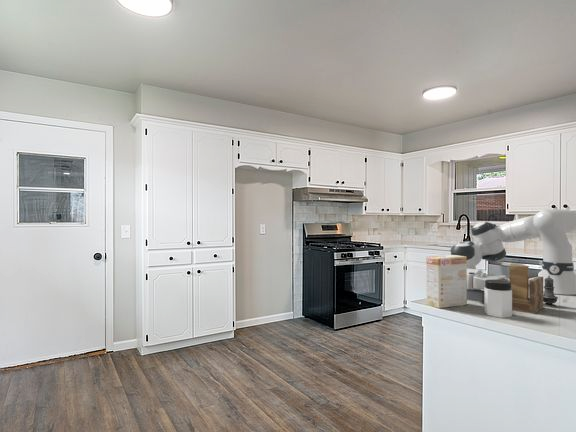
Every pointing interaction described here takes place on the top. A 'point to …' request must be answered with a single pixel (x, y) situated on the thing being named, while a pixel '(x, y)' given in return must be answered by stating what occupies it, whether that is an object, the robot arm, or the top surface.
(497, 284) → the jar
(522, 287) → the wooden block
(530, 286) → the walnut rack
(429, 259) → the coffeecake box
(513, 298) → the offcut boards
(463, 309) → the top surface
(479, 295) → the slate holder
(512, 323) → the top surface
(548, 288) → the salt shaker
